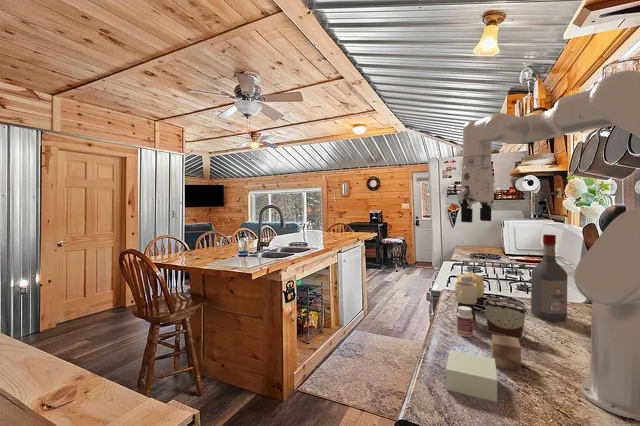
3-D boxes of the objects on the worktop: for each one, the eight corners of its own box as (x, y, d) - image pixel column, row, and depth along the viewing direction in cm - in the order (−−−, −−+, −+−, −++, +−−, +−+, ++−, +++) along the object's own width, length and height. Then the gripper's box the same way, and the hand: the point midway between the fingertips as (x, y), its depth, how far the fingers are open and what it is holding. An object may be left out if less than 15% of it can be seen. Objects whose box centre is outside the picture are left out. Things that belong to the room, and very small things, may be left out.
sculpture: (483, 294, 139) (483, 271, 139) (485, 302, 128) (485, 277, 128) (455, 292, 144) (455, 269, 143) (455, 299, 133) (455, 275, 132)
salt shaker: (475, 307, 123) (475, 275, 123) (473, 311, 118) (474, 278, 118) (459, 304, 126) (459, 273, 126) (457, 308, 121) (457, 276, 121)
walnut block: (517, 360, 81) (517, 338, 81) (520, 371, 76) (520, 347, 76) (491, 355, 84) (491, 334, 84) (493, 366, 79) (493, 343, 79)
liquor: (571, 321, 107) (572, 236, 106) (544, 321, 107) (545, 236, 106) (552, 312, 116) (553, 233, 115) (527, 312, 116) (528, 233, 115)
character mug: (461, 313, 116) (461, 279, 116) (481, 318, 111) (481, 282, 111) (449, 321, 108) (449, 285, 108) (471, 327, 103) (471, 289, 103)
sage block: (494, 379, 73) (494, 358, 73) (497, 403, 64) (497, 380, 64) (449, 369, 78) (449, 349, 78) (446, 390, 69) (446, 369, 69)
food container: (531, 334, 97) (531, 303, 97) (527, 341, 92) (527, 308, 92) (488, 324, 105) (488, 295, 105) (482, 330, 101) (482, 300, 100)
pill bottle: (475, 337, 95) (475, 311, 95) (458, 336, 96) (458, 310, 96) (470, 331, 100) (470, 306, 100) (455, 330, 101) (455, 305, 100)
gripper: (471, 160, 83) (471, 223, 83) (505, 164, 92) (504, 221, 92) (447, 163, 89) (447, 222, 90) (481, 166, 98) (480, 219, 99)
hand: (476, 221), depth 91 cm, fingers open, 9 cm apart
